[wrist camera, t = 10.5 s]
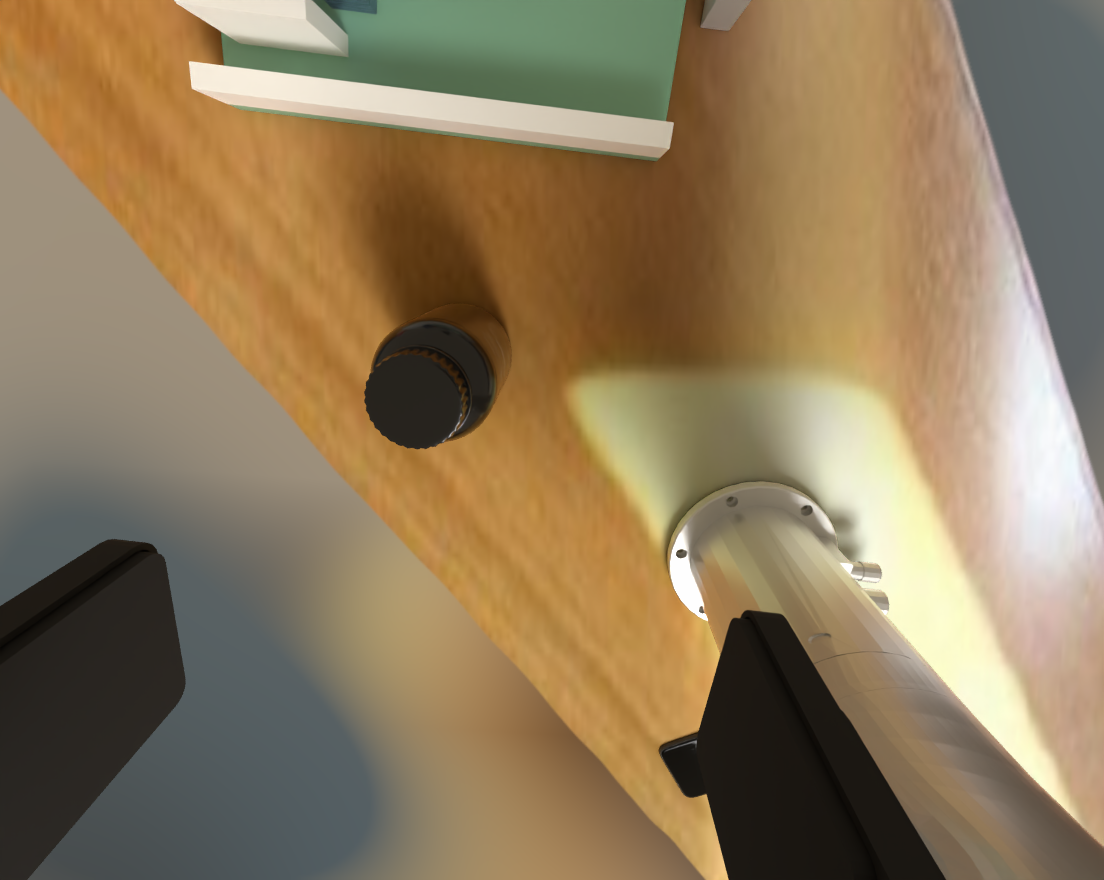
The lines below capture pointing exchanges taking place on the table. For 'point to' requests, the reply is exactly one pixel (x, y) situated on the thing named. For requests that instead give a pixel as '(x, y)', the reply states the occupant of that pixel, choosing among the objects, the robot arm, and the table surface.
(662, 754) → the smartphone
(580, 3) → the pitch
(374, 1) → the table football player
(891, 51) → the table surface
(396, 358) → the supplement bottle
